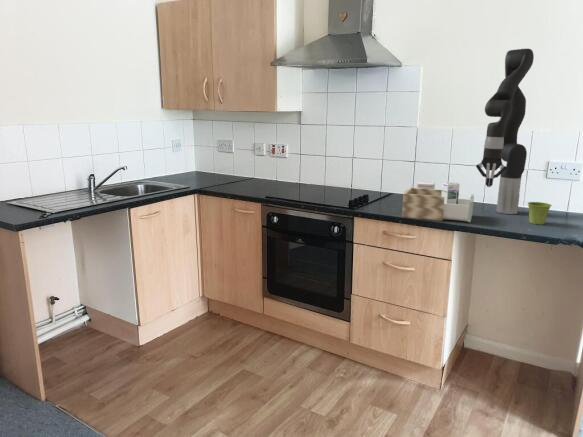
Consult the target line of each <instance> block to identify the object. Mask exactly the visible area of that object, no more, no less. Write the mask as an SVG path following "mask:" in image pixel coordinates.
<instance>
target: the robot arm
mask: <svg viewBox="0 0 583 437" xmlns="http://www.w3.org/2000/svg"><path fill="white" fill-rule="evenodd" d="M534 55H535V54H534V51H533V50H532V49H531V48H518V49H510V50H508V51H506V54H505V59H504V76H505V78H504V79H503V80H502V81H501V82H500V84H499V87H498V88H497V91H496V92H495V93H494V94H493V95H492V96H491V97H490V98H489V99H488V101H487V102H486V104H485V107H484V113H485V115H486V116H487V117H493V118H494V117H495V118H497V117H498V118H499V120H498V121H495V122H489V123H488V125H487V128H486V136H485V140H484V147H483V154H482V155H483V156H482V159H481V162H480V163H478V164H476V165H475V166H476V169H477V170H478V172H479V173H480V175H481V176H482V177H484V178H485V186H486V187H488V188H490V187H492V186H493V183H494V179H496V178H498V177H499V184H498V185H499V186H498V194H497V203H496V212H497V213H499V214H504V215H505V214H506V215H517V214H518V212H519V211H518V210H519V204H520V203H519V201H520V196H521V195H520V192H521V184H522V183H521V182H522V176H523V173H524V171H525V167H526V162H527V155H528V153H527V149H526V146H525V145H523V144H522V143H521V144H520V143H518V132H519V130H520V127H521V125H522V123H523V121H524V118H525V115H526V107H527V99H526V96H525V94H524V93H523V91H522V89H521V88H520V87H519V85H520V83H521V82H522V80H523V79H524V78H525V77H526V75H527V74H528V72H529V71H530V70H531V68H532V66H533V64H534V58H535V57H534ZM503 162H506V165H504V164H503ZM482 168H484V170H486V173H485V171H484V170H483V169H482ZM499 168H500V169H499ZM498 169H499V171H497V170H498ZM490 171H491V173H490ZM496 171H497V173H495V172H496Z"/></svg>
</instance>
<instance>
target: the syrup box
mask: <svg viewBox="0 0 583 437" xmlns="http://www.w3.org/2000/svg"><path fill="white" fill-rule="evenodd" d="M441 190H442V195H441V196H442V197H445V198H444V203H447V204H458V199H459V196H460V183H458V182H454V181H453V182H442V184H441Z"/></svg>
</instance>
